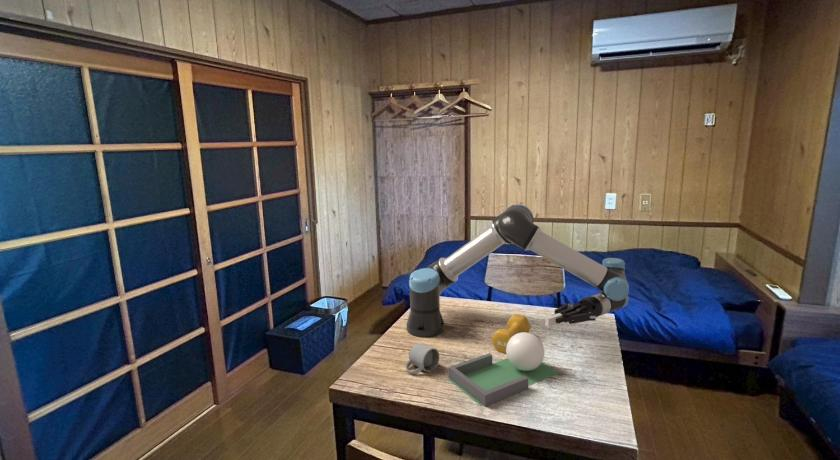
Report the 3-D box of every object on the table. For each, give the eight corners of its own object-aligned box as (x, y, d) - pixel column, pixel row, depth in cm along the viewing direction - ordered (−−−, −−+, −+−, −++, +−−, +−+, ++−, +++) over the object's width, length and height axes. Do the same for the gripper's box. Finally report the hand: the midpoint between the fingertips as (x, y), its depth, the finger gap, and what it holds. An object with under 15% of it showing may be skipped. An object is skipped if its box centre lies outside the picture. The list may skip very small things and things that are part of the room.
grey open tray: (448, 377, 135) (448, 367, 134) (489, 362, 143) (489, 353, 143) (484, 406, 120) (484, 395, 119) (528, 388, 128) (528, 377, 127)
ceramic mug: (423, 358, 148) (422, 337, 146) (440, 366, 142) (439, 345, 140) (400, 370, 141) (398, 349, 139) (417, 379, 135) (416, 357, 133)
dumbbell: (513, 357, 147) (514, 335, 145) (489, 351, 152) (489, 329, 150) (532, 336, 163) (532, 316, 161) (509, 331, 167) (509, 311, 166)
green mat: (448, 380, 134) (448, 379, 134) (524, 353, 150) (524, 352, 150) (480, 406, 120) (480, 405, 120) (559, 373, 136) (559, 372, 136)
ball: (498, 365, 141) (498, 331, 139) (524, 355, 147) (525, 323, 145) (524, 382, 131) (525, 346, 129) (551, 371, 137) (553, 336, 135)
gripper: (579, 291, 157) (532, 305, 146) (610, 301, 146) (562, 318, 135) (578, 310, 159) (532, 325, 147) (609, 322, 148) (562, 340, 136)
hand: (546, 322), depth 141 cm, fingers closed
